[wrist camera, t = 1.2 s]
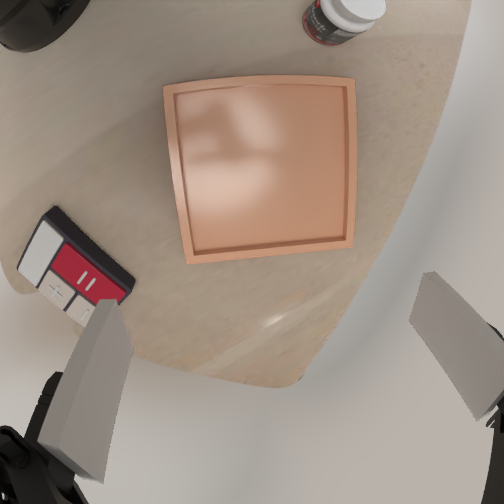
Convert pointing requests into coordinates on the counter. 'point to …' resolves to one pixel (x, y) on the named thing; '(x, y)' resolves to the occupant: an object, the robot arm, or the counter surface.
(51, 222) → the calculator
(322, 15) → the pill bottle
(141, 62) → the counter surface
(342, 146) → the tray
